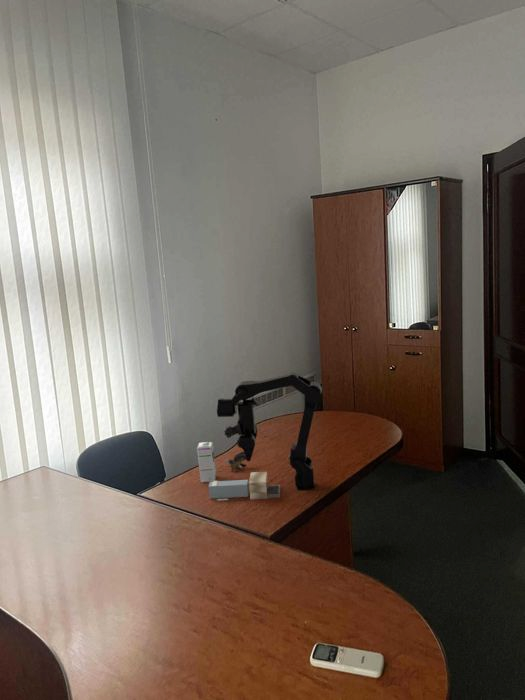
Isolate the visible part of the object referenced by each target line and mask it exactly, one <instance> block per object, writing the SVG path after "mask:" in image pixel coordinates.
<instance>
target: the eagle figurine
mask: <svg viewBox="0 0 525 700" xmlns="http://www.w3.org/2000/svg"><path fill="white" fill-rule="evenodd" d="M244 461H247V459H246V456H245V453H244V451H242V452H239V453H237V454H235V455H234V457H233V459H231V458H226V459H225V463H227V465H228V467H229V468H230V469H231V472H233V471H234V470H235V468H236V467H238V468H239V469H241V470H243V466H242V465H245V466H246V465H247V464H246V463H243V462H244Z"/></svg>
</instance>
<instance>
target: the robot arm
mask: <svg viewBox="0 0 525 700" xmlns="http://www.w3.org/2000/svg"><path fill="white" fill-rule="evenodd" d="M286 387H294V389H296V390H297V391H298V392H300V393H301V394H302V395H304V409H303V414H302V419H301V424H300V426H299V427H300V428H299V432H298V437H297V441H296V443H295V444H294V443H292V444H291V447H290V453H289V456H288V460H289V464H290V466H291V468H293V469H294V471H295V473H294V483H295V487H296V490H297V491H302V490H315V488H316V486H315V479H314V477H315V476H314V468H313V462H314V461H313V460H312V459H311V458H310V457H309V456H308V440H309V436H310V431H311V426H312V421H313V417H314V413H315V410H316V408H317V406H318V403H319V401H320V399H321V396H322V390H323V388H322V386H321V383H319V382H317V381H311V380H309V379H307V378H305V377H303V376H300V375H299V374H298V373H296V372H291V373H288V374H284V375H281V376H276V377H272V378H267V379H263V380H243V381H241V382H240V383H239V384H238V385H237V386H236V388H235V389H234V395H233V397H232V398H219V399H217V406H216V407H217V408H216V414H217V415H216V416H217V418H233V417H235V415H238V420H237V421H236V422H234V423H232V424H231V423H230V424H229V425H227V426H225V427H224V429H223V431H224V435H225V437H226V438H227V439H230V438H231V437H232V436H235V435H238V436H239V437H238V438H237V440H236V444H237V447H238V448H240V449H242V451H243V452H244V453H245V456H246V459H247V460H246V461H247V462H250V461H251V460H252V456H253V453H254V450H255V446H256V438H257V435H258V425H257V423H255V417H256V416H255V413H254V406H256V405H258V404H259V400H258V399H256V398H255V396H258V394H260V393H264V392H269V391H274V390H278V389H281V388H286Z"/></svg>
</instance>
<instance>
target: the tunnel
mask: <svg viewBox="0 0 525 700" xmlns="http://www.w3.org/2000/svg"><path fill="white" fill-rule="evenodd" d="M268 483H269V482H268V471H256V472H255V471H254V472H253V471H252V472H250V476H249V480H248V486H249V500H266V499H268V498H267V493H268V486H269V484H268Z"/></svg>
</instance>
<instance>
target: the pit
mask: <svg viewBox="0 0 525 700" xmlns="http://www.w3.org/2000/svg"><path fill="white" fill-rule="evenodd" d="M271 498H273V499H274V498H281V484H274V485H273V484H272V485H270V484H268V489H267V499H271Z"/></svg>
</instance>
